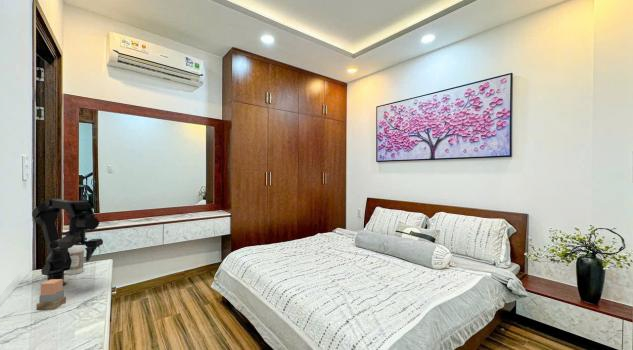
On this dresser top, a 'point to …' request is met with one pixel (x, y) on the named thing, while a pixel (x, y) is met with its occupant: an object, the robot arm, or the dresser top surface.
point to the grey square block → (51, 297)
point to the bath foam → (76, 259)
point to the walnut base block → (51, 304)
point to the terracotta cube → (51, 287)
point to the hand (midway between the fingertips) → (76, 261)
